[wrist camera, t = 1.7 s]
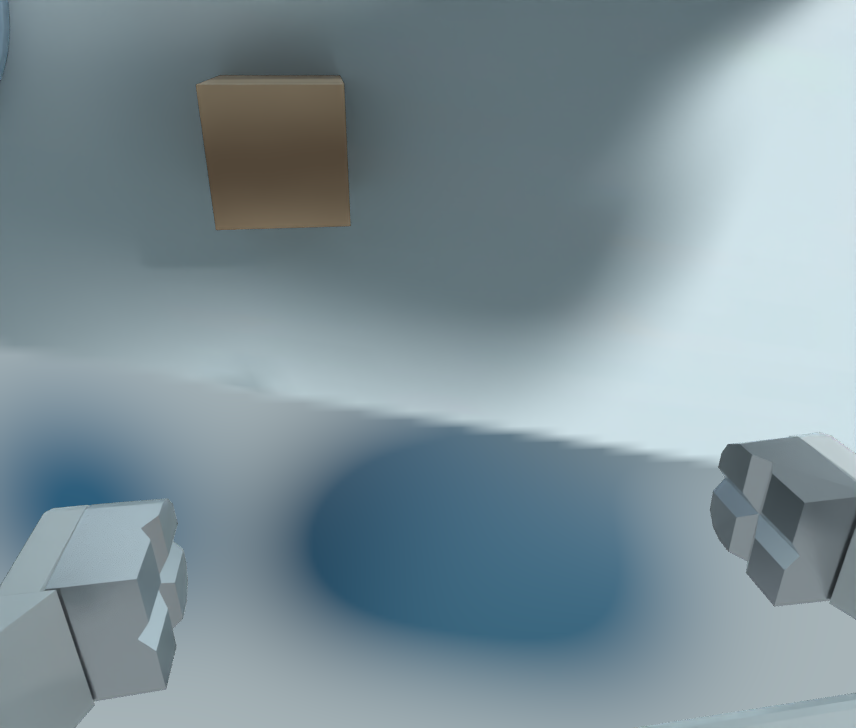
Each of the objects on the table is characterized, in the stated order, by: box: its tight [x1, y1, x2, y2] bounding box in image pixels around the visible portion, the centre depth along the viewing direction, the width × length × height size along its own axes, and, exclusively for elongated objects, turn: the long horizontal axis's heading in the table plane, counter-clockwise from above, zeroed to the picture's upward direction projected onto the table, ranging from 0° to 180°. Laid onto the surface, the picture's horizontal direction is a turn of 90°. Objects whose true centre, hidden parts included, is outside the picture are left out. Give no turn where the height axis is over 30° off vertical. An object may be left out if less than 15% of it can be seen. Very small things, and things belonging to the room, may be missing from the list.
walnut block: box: [196, 75, 351, 230], centre depth 26 cm, size 5×5×6 cm
